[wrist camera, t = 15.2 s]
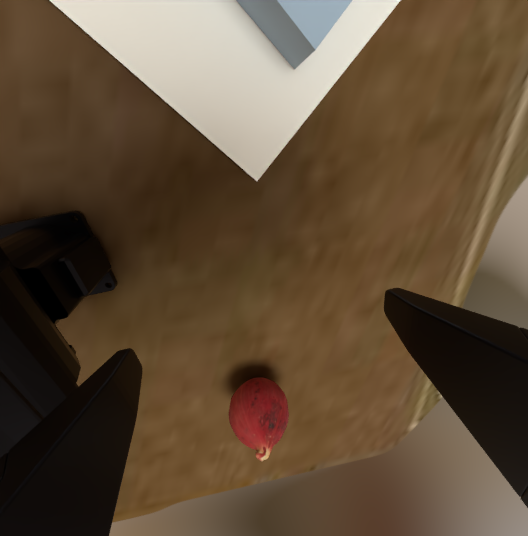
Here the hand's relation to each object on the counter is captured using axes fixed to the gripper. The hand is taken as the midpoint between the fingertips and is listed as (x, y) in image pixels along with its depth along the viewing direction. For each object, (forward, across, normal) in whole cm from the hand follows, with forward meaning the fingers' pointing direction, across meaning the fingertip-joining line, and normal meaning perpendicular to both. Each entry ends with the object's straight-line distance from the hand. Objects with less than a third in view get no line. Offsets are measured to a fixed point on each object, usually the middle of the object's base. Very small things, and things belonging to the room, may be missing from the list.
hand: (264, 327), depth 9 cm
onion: (+13, +2, +18) cm, 22 cm away
